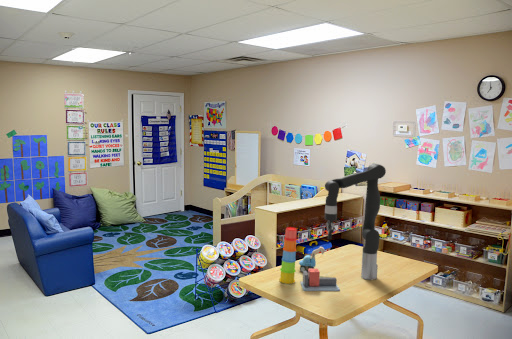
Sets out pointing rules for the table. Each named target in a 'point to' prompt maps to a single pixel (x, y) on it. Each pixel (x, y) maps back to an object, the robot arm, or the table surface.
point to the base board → (320, 288)
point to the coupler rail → (322, 280)
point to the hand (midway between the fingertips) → (329, 238)
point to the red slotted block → (313, 277)
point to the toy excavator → (310, 260)
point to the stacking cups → (289, 256)
